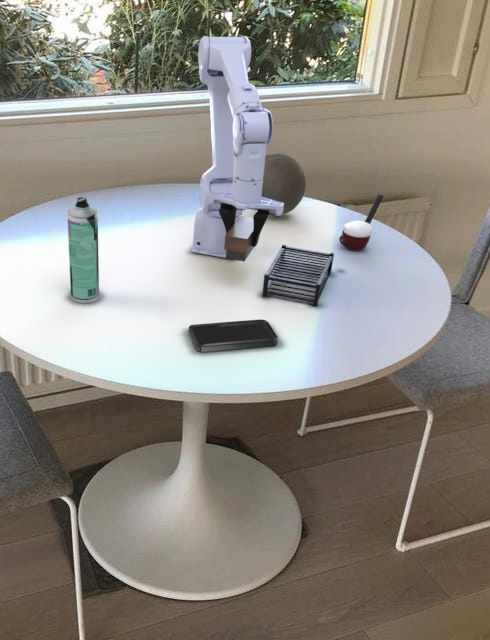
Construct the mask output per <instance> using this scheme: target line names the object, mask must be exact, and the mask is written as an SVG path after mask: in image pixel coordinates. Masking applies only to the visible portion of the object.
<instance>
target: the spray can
mask: <svg viewBox="0 0 490 640" xmlns="http://www.w3.org/2000/svg"><path fill="white" fill-rule="evenodd" d="M97 213H98V211H97V209H96V208H94V207H92V206H91V205H90V204H89V202H88V199H87V198H86V197H83V196H82V197H81V196H80V197H78V198H77V199H76V203H75V204H74V206H73V207H70V208H68V211H67V234H68V235H67V236H68V238H67V239H68V260H69V282H70V283H69V284H70V298H71V300H72V301H73V302H76V303H78V304H91V303H94V302H95V303H96V302H97V301H98V300H99V299H100V269H99V268H100V266H99V264H100V263H99V262H100V261H99V219H98V217H99V215H98V214H97Z"/></svg>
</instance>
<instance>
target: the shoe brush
mask: <svg viewBox="0 0 490 640" xmlns="http://www.w3.org/2000/svg"><path fill="white" fill-rule="evenodd" d="M253 229H254V220H253V217H252V216H245V215H240V217H239V218H238V220H237V221H236V222H235V224H234V225H233V226H232V227H231V229H230V230H229V231H228V233H227V234H226V235H225V245H224V250H226V258H225V259H227V260H233V261H237V262H238V261H239V262H245V261H246V260H247V258H248V257H249V255H250V254H251V252H252V251H253V250H254V248H255V247H252V238H253Z"/></svg>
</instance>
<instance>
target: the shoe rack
mask: <svg viewBox="0 0 490 640" xmlns="http://www.w3.org/2000/svg"><path fill="white" fill-rule="evenodd" d="M334 257H335V253H334V252H329V253H328V252H322V251H315V250H311V249H305V248H300V247H299V248H298V247H292V246H289V245H288V246H287V244H283V243H282V244H281V247H280V249H279V250H278V252H277V254H276V256H275V257H274V258H273V261H272V262H271V264H270V266H269V268H268V269H267V271H266V272H265V273H264V275H263V284H262V294H261V297H263V298H267V296H268V295H270V296H276V297H281V298H286V299H292V300H297V301H302V302H307V303H312V307H315V308H317V307H318V306H319V300H320V298H321V296H322V294H323V291H324V289H325V287H326V284H327V282H328V280H329V277H330V276H331V274H332V269H333V263H334ZM274 282H277V283H274ZM279 283H281V284H279ZM282 283H283V284H282ZM285 284H287V285H285ZM290 285H293V286H290ZM272 286H274V287H272ZM295 286H299V287H295ZM276 287H280V288H276ZM300 287H304V288H300ZM281 288H284V289H281ZM285 288H286V289H285ZM307 288H310V289H307ZM287 289H291V290H287ZM312 289H314V290H312ZM292 290H296V291H292ZM298 291H301V292H298ZM303 292H305V293H303ZM308 293H311V294H308ZM313 294H314V295H313Z"/></svg>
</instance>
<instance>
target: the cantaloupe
mask: <svg viewBox="0 0 490 640" xmlns="http://www.w3.org/2000/svg"><path fill="white" fill-rule="evenodd" d="M306 187H307V183H306V175H305V173H304V170H303V169H302V166H301V165H300V162H299V161H297V160H296V159H294V158H293V157H292V156H289V155H287V154H284V153H272V154H271V153H270V154H266V156H265V166H264V176H263V186H262V196H261V197H264V198H267V199H270V200H274V201H277V202H282V203H284V208H283V213H282V214H281V216H283V215H285V214H288V213H290V212H292V211H293V210H295V208H297V207H298V205H300V203H301V201H302V200H303V198H304V196H305V193H306V189H307V188H306ZM270 216H272V217H275V216H277V215H276V213H270V215H269V217H270Z"/></svg>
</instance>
